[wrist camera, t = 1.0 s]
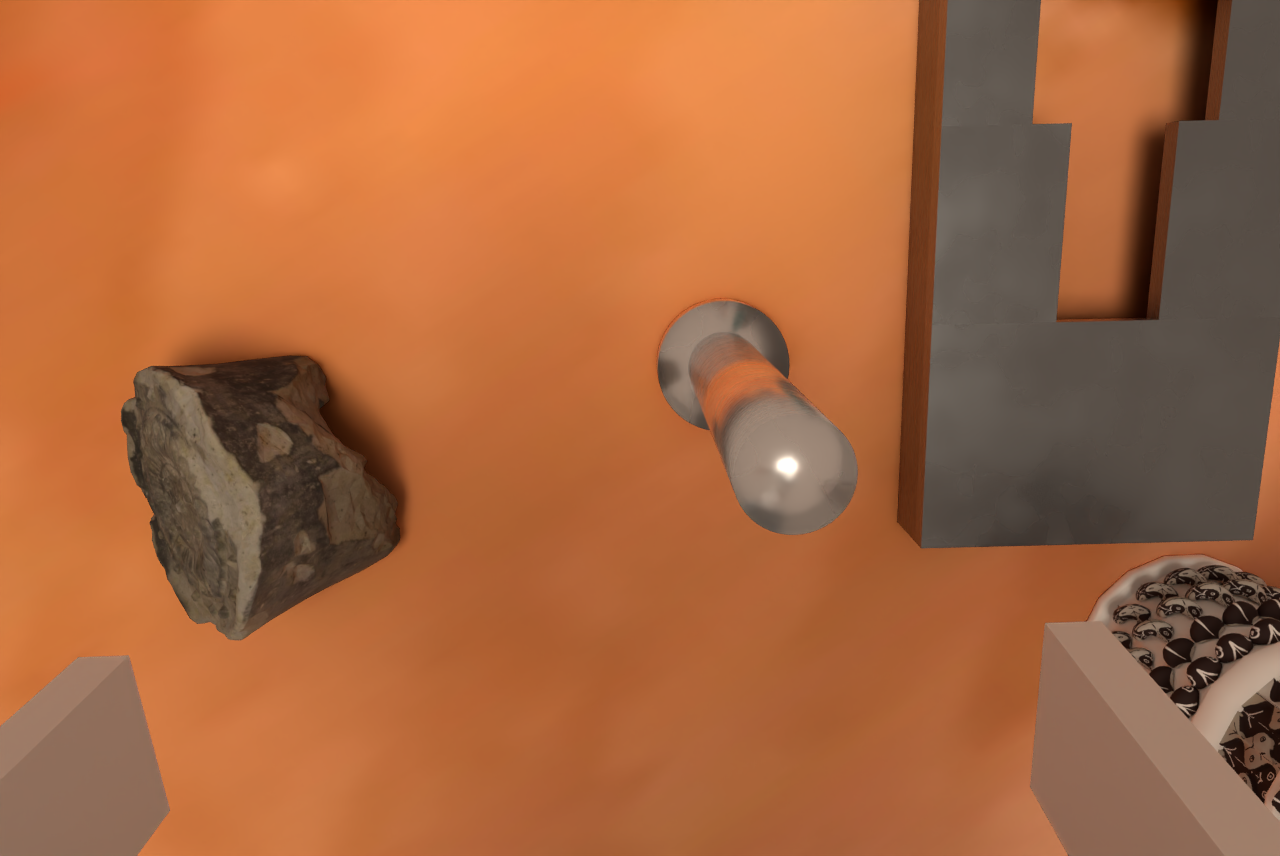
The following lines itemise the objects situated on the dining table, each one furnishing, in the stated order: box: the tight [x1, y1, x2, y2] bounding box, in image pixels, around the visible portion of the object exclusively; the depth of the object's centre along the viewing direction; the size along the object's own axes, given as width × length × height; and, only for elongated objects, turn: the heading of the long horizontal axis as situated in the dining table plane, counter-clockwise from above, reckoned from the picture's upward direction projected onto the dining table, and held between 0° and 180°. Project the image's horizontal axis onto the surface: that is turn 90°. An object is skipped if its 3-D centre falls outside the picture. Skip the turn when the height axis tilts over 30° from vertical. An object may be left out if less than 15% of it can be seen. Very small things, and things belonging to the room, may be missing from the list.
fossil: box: [121, 356, 400, 640], centre depth 35 cm, size 11×9×10 cm
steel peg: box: [657, 298, 858, 535], centre depth 29 cm, size 5×5×17 cm
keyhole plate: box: [897, 0, 1280, 548], centre depth 34 cm, size 26×13×3 cm, turn 1°
